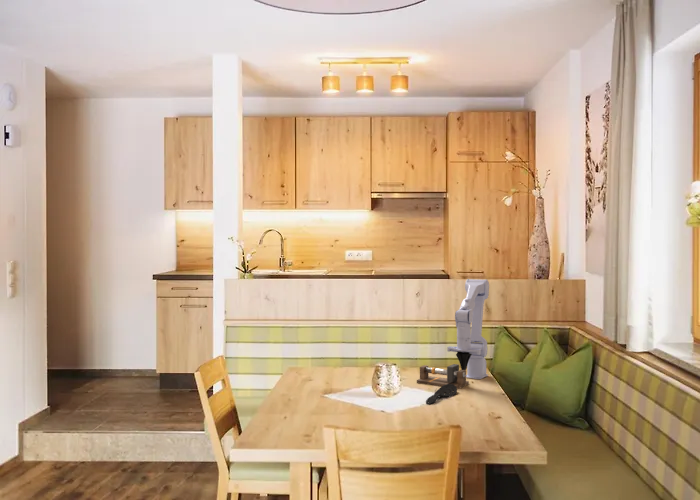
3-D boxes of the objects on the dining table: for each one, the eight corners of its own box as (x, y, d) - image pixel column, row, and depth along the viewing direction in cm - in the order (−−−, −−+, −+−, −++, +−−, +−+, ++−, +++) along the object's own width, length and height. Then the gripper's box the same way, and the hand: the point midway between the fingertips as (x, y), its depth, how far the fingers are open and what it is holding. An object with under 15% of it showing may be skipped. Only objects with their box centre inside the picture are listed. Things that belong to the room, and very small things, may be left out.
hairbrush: (417, 397, 260) (441, 380, 281) (418, 406, 260) (442, 389, 282) (437, 399, 256) (460, 382, 277) (438, 409, 256) (460, 391, 278)
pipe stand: (427, 378, 302) (427, 364, 301) (468, 384, 290) (468, 369, 290) (416, 382, 293) (416, 368, 293) (458, 388, 282) (458, 373, 282)
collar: (453, 379, 292) (453, 364, 292) (459, 379, 291) (458, 364, 291) (447, 382, 287) (447, 366, 287) (452, 382, 286) (452, 367, 285)
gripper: (444, 337, 286) (444, 369, 287) (476, 340, 278) (476, 373, 279) (451, 335, 292) (451, 366, 293) (482, 338, 284) (482, 370, 284)
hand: (463, 369), depth 286 cm, fingers closed
